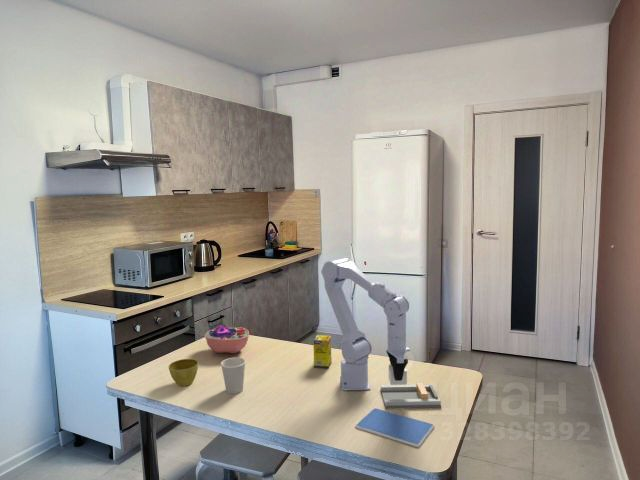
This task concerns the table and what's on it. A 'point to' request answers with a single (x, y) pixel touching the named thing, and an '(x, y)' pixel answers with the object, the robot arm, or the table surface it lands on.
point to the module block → (392, 379)
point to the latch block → (421, 391)
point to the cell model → (227, 339)
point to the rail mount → (408, 397)
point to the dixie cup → (233, 374)
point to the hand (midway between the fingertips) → (396, 376)
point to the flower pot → (183, 371)
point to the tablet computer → (395, 427)
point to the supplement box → (322, 351)
